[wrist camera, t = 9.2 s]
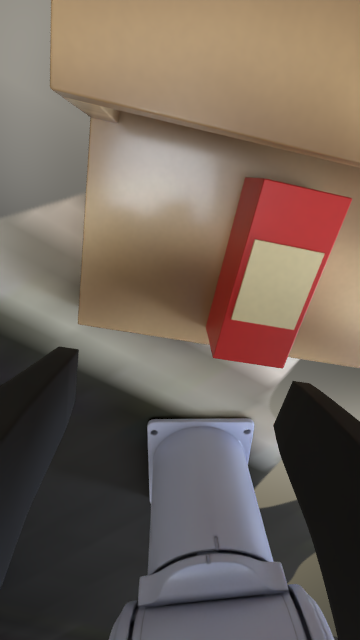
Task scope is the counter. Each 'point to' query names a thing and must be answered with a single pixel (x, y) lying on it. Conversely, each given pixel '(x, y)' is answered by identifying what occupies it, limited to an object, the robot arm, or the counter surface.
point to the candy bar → (271, 269)
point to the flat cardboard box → (208, 150)
